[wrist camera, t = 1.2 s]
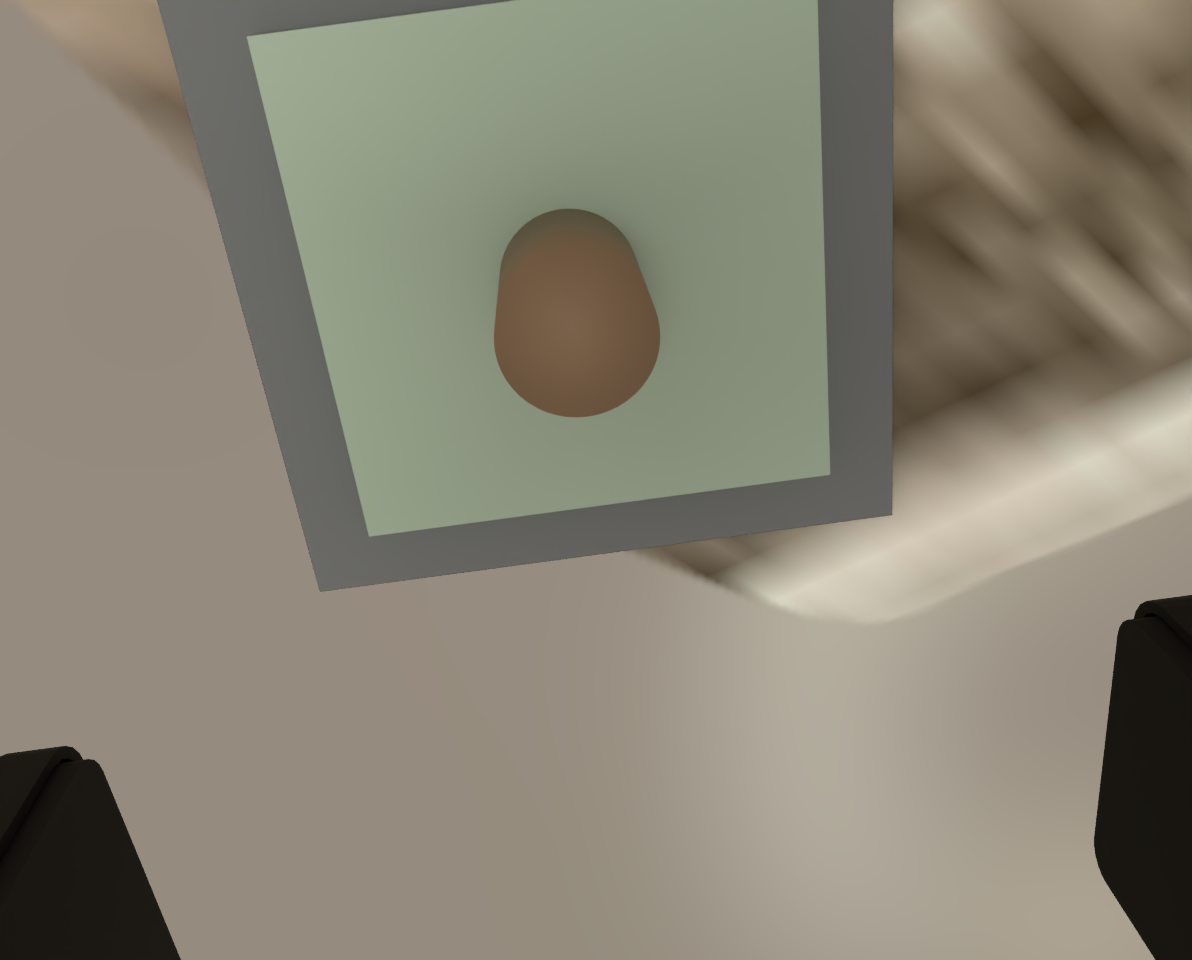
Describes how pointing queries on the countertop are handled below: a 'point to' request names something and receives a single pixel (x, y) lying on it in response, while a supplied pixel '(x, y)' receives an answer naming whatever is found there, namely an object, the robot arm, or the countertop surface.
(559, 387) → the lid
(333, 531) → the mat
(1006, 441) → the countertop surface
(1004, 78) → the countertop surface
